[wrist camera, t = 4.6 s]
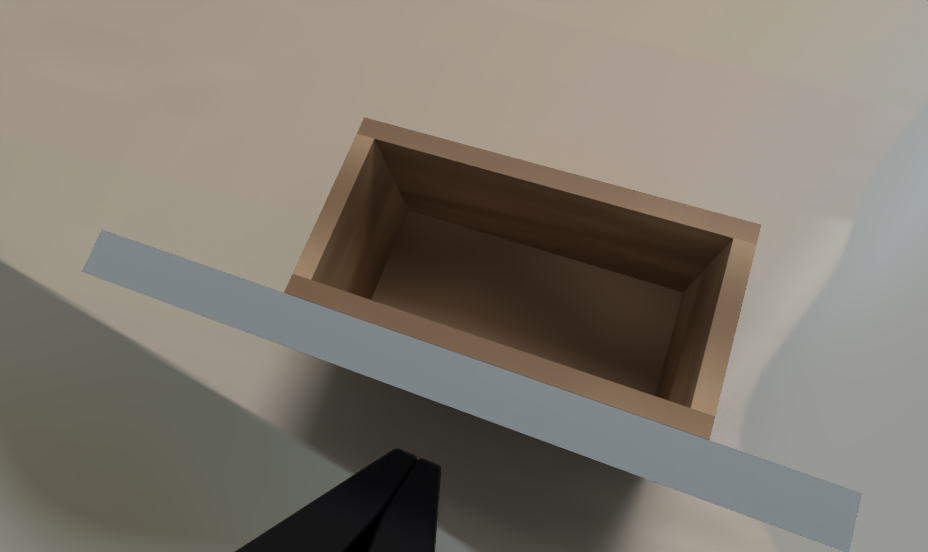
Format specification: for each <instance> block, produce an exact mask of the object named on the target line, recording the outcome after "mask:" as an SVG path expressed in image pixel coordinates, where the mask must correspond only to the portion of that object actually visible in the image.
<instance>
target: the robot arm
mask: <svg viewBox="0 0 928 552" xmlns="http://www.w3.org/2000/svg"><path fill="white" fill-rule="evenodd" d="M440 478H441V467H440V466H439V465H438V464H436V463H433V462H431V461H428V460H426V459H423V458H420V459H418V458H417V456H415V455H414V454H411V453H409V452H407V451H404V450H402V449H399V448H397V449H393V450H392V451H390V452H389V453H387V454H386V455H384V456H382V457H381V458H379V459H378V460H376V461H375V462H373V463H372V464H370V465H368V466H367V467H365V468H364V469H362V470H361V471H359V472H358V473H356V474H354V475H353V476H352V477H350V478H348V479H347V480H345V481H344V482H342V483H341V484H339V485H337V486H336V487H334V488H333V489H331V490H330V491H329V492H327V493H325V494H324V495H322V496H320V497H319V498H317V499H316V500H314V501H313V502H311V503H309V504H308V505H306V506H305V507H303V508H302V509H300V510H299V511H297V512H296V513H294V514H293V515H291V516H289V517H288V518H286V519H285V520H283V521H282V522H280V523H278V524H277V525H275V526H274V527H272V528H271V529H269V530H268V531H266V532H265V533H263V534H261V535H260V536H258V537H257V538H256V539H254V540H252V541H251V542H249V543H247V544H246V545H244V546H243V547H241V548H240V549H238V550H237V551H235V552H435V544H436V531H437V518H438V504H439V491H440Z"/></svg>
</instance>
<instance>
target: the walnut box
mask: <svg viewBox="0 0 928 552" xmlns="http://www.w3.org/2000/svg"><path fill="white" fill-rule="evenodd" d="M760 227H761V225H760V224H756V223H753V222H749V221H745V220H741V219H738V218H734V217H730V216H727V215H723V214H719V213H716V212H712V211H708V210H704V209H701V208H697V207H693V206H690V205H686V204H682V203H679V202H675V201H671V200H668V199H664V198H660V197H656V196H653V195H649V194H645V193H642V192H638V191H634V190H631V189H627V188H623V187H619V186H616V185H612V184H608V183H605V182H601V181H597V180H594V179H590V178H586V177H583V176H579V175H575V174H571V173H568V172H564V171H560V170H557V169H553V168H549V167H546V166H542V165H538V164H534V163H531V162H527V161H523V160H520V159H516V158H512V157H509V156H505V155H501V154H498V153H494V152H490V151H486V150H483V149H479V148H475V147H472V146H468V145H464V144H461V143H457V142H453V141H449V140H446V139H442V138H438V137H435V136H431V135H427V134H424V133H420V132H416V131H412V130H409V129H405V128H401V127H398V126H394V125H390V124H387V123H383V122H379V121H376V120H372V119H368V118H364V119H363V122H362V124H361V126H360V128H359V130H358V132H357V135H356V137H355V139H354V141H353V143H352V146H351V148H350V150H349V152H348V154H347V156H346V159H345V161H344V163H343V165H342V167H341V170H340V172H339V174H338V176H337V178H336V180H335V183H334V185H333V187H332V189H331V191H330V194H329V196H328V198H327V200H326V202H325V204H324V207H323V209H322V211H321V213H320V215H319V218H318V220H317V222H316V224H315V226H314V228H313V231H312V233H311V235H310V237H309V239H308V242H307V244H306V246H305V248H304V250H303V252H302V255H301V257H300V259H299V261H298V263H297V266H296V268H295V270H294V272H293V274H292V276H291V279H290V281H289V283H288V285H287V287H286V290H285V292H284V293H286V294H289V295H291V296H294V297H297V298H300V299H303V300H306V301H309V302H312V303H315V304H317V305H320V306H323V307H326V308H329V309H332V310H335V311H338V312H340V313H343V314H346V315H349V316H352V317H355V318H358V319H361V320H364V321H366V322H369V323H372V324H375V325H378V326H381V327H384V328H387V329H389V330H392V331H395V332H398V333H401V334H404V335H407V336H410V337H413V338H415V339H418V340H421V341H424V342H427V343H430V344H433V345H436V346H439V347H441V348H444V349H447V350H450V351H453V352H456V353H459V354H462V355H464V356H467V357H470V358H473V359H476V360H479V361H482V362H485V363H488V364H490V365H493V366H496V367H499V368H502V369H505V370H508V371H511V372H513V373H516V374H519V375H522V376H525V377H528V378H531V379H534V380H537V381H539V382H542V383H545V384H548V385H551V386H554V387H557V388H560V389H562V390H565V391H568V392H571V393H574V394H577V395H580V396H583V397H586V398H588V399H591V400H594V401H597V402H600V403H603V404H606V405H609V406H612V407H614V408H617V409H620V410H623V411H626V412H629V413H632V414H635V415H637V416H640V417H643V418H646V419H649V420H652V421H655V422H658V423H661V424H663V425H666V426H669V427H672V428H675V429H678V430H681V431H684V432H686V433H689V434H692V435H695V436H698V437H701V438H704V439H707V440H709V439H710V435H711V431H712V427H713V423H714V419H715V414H716V410H717V406H718V402H719V398H720V394H721V389H722V385H723V381H724V377H725V373H726V369H727V365H728V360H729V356H730V352H731V348H732V344H733V340H734V335H735V331H736V327H737V323H738V319H739V315H740V311H741V306H742V302H743V298H744V294H745V290H746V286H747V281H748V277H749V273H750V269H751V265H752V261H753V257H754V252H755V248H756V244H757V240H758V236H759V232H760Z"/></svg>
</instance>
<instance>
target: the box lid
mask: <svg viewBox="0 0 928 552" xmlns="http://www.w3.org/2000/svg"><path fill="white" fill-rule="evenodd" d="M82 272H84V273H87V274H90V275H93V276H95V277H98V278H101V279H103V280H106V281H109V282H112V283H114V284H117V285H120V286H123V287H125V288H128V289H131V290H133V291H136V292H139V293H142V294H144V295H147V296H150V297H152V298H155V299H158V300H161V301H163V302H166V303H169V304H172V305H174V306H177V307H180V308H182V309H185V310H188V311H191V312H193V313H196V314H199V315H201V316H204V317H207V318H210V319H212V320H215V321H218V322H221V323H223V324H226V325H229V326H231V327H234V328H237V329H240V330H242V331H245V332H248V333H250V334H253V335H256V336H259V337H261V338H264V339H267V340H270V341H272V342H275V343H278V344H280V345H283V346H286V347H289V348H291V349H294V350H297V351H299V352H302V353H305V354H308V355H310V356H313V357H316V358H319V359H321V360H324V361H327V362H329V363H332V364H335V365H338V366H340V367H343V368H346V369H349V370H351V371H354V372H357V373H359V374H362V375H365V376H368V377H370V378H373V379H376V380H378V381H381V382H384V383H387V384H389V385H392V386H395V387H398V388H400V389H403V390H406V391H408V392H411V393H414V394H417V395H419V396H422V397H425V398H427V399H430V400H433V401H436V402H438V403H441V404H444V405H447V406H449V407H452V408H455V409H457V410H460V411H463V412H466V413H468V414H471V415H474V416H476V417H479V418H482V419H485V420H487V421H490V422H493V423H496V424H498V425H501V426H504V427H506V428H509V429H512V430H515V431H517V432H520V433H523V434H525V435H528V436H531V437H534V438H536V439H539V440H542V441H545V442H547V443H550V444H553V445H555V446H558V447H561V448H564V449H566V450H569V451H572V452H574V453H577V454H580V455H583V456H585V457H588V458H591V459H594V460H596V461H599V462H602V463H604V464H607V465H610V466H613V467H615V468H618V469H621V470H623V471H626V472H629V473H632V474H634V475H637V476H640V477H643V478H645V479H648V480H651V481H653V482H656V483H659V484H662V485H664V486H667V487H670V488H673V489H675V490H678V491H681V492H683V493H686V494H689V495H692V496H694V497H697V498H700V499H702V500H705V501H708V502H711V503H713V504H716V505H719V506H722V507H724V508H727V509H730V510H732V511H735V512H738V513H741V514H743V515H746V516H749V517H751V518H754V519H757V520H760V521H762V522H765V523H768V524H771V525H773V526H776V527H779V528H782V529H784V530H787V531H790V532H792V533H795V534H798V535H800V536H803V537H806V538H809V539H812V540H814V541H817V542H820V543H822V544H825V545H828V546H830V547H834V548H836V549H839V550H841V551H844V552H849V549H850V544H851V540H852V536H853V531H854V526H855V522H856V517H857V512H858V508H859V504H860V499H861V493H859V492H856V491H854V490H851V489H848V488H845V487H842V486H839V485H836V484H834V483H831V482H828V481H825V480H822V479H819V478H816V477H813V476H810V475H808V474H805V473H801V472H799V471H796V470H793V469H790V468H787V467H785V466H782V465H779V464H776V463H773V462H770V461H767V460H764V459H761V458H758V457H756V456H753V455H750V454H747V453H744V452H741V451H738V450H735V449H733V448H730V447H727V446H724V445H721V444H718V443H715V442H712V441H710V440H707V439H704V438H701V437H698V436H695V435H692V434H689V433H686V432H684V431H681V430H678V429H675V428H672V427H669V426H666V425H663V424H661V423H658V422H655V421H652V420H649V419H646V418H643V417H640V416H637V415H635V414H632V413H629V412H626V411H623V410H620V409H617V408H614V407H612V406H609V405H606V404H603V403H600V402H597V401H594V400H591V399H588V398H586V397H583V396H580V395H577V394H574V393H571V392H568V391H565V390H562V389H560V388H557V387H554V386H551V385H548V384H545V383H542V382H539V381H537V380H534V379H531V378H528V377H525V376H522V375H519V374H516V373H513V372H511V371H508V370H505V369H502V368H499V367H496V366H493V365H490V364H488V363H485V362H482V361H479V360H476V359H473V358H470V357H467V356H464V355H462V354H459V353H456V352H453V351H450V350H447V349H444V348H441V347H439V346H436V345H433V344H430V343H427V342H424V341H421V340H418V339H415V338H413V337H410V336H407V335H404V334H401V333H398V332H395V331H392V330H389V329H387V328H384V327H381V326H378V325H375V324H372V323H369V322H366V321H364V320H361V319H358V318H355V317H352V316H349V315H346V314H343V313H340V312H338V311H335V310H332V309H329V308H326V307H323V306H320V305H317V304H315V303H312V302H309V301H306V300H303V299H300V298H297V297H294V296H291V295H289V294H286V293H283V292H280V291H277V290H274V289H271V288H268V287H266V286H263V285H260V284H257V283H254V282H251V281H248V280H245V279H242V278H240V277H237V276H234V275H231V274H228V273H225V272H222V271H219V270H216V269H214V268H211V267H208V266H205V265H202V264H199V263H196V262H193V261H191V260H188V259H185V258H182V257H179V256H176V255H173V254H170V253H167V252H165V251H162V250H159V249H156V248H153V247H150V246H147V245H144V244H142V243H139V242H136V241H133V240H130V239H127V238H124V237H121V236H118V235H116V234H113V233H110V232H107V231H104V230H102V231H101V233H100V235H99V237H98V239H97V241H96V243H95V245H94V247H93V250H92V252H91V254H90V256H89V258H88V260H87V262H86V264H85V266H84V269H83V271H82Z"/></svg>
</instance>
